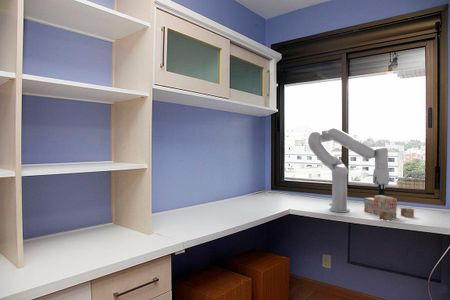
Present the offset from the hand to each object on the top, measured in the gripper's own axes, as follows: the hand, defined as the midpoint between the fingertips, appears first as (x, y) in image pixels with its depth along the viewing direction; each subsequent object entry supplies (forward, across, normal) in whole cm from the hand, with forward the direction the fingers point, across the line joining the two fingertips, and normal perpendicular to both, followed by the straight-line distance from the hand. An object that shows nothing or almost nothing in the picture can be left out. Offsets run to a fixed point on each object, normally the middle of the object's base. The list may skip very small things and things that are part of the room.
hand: (381, 194), depth 193 cm
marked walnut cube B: (+13, -11, +10) cm, 20 cm away
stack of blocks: (+13, +1, -1) cm, 13 cm away
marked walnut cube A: (+13, +9, +11) cm, 19 cm away
